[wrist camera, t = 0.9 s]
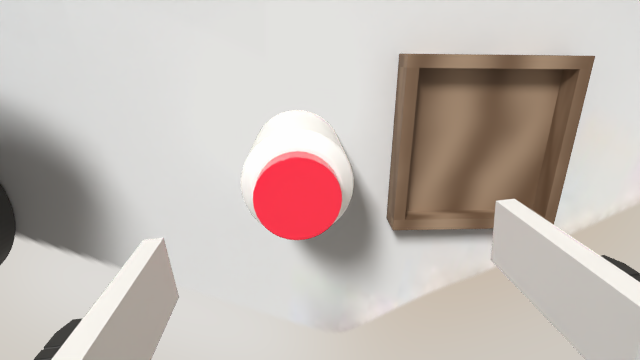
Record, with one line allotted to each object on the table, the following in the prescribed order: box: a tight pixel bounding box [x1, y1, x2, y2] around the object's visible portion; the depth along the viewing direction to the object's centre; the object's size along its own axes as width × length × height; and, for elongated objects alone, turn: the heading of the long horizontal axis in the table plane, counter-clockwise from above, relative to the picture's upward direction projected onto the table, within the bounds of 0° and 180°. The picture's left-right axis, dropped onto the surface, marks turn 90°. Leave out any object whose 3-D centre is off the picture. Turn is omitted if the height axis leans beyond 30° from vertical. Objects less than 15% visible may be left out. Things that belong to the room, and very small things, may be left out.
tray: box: [387, 54, 595, 230], centre depth 32 cm, size 15×15×2 cm
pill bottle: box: [240, 110, 354, 240], centre depth 28 cm, size 8×8×11 cm
